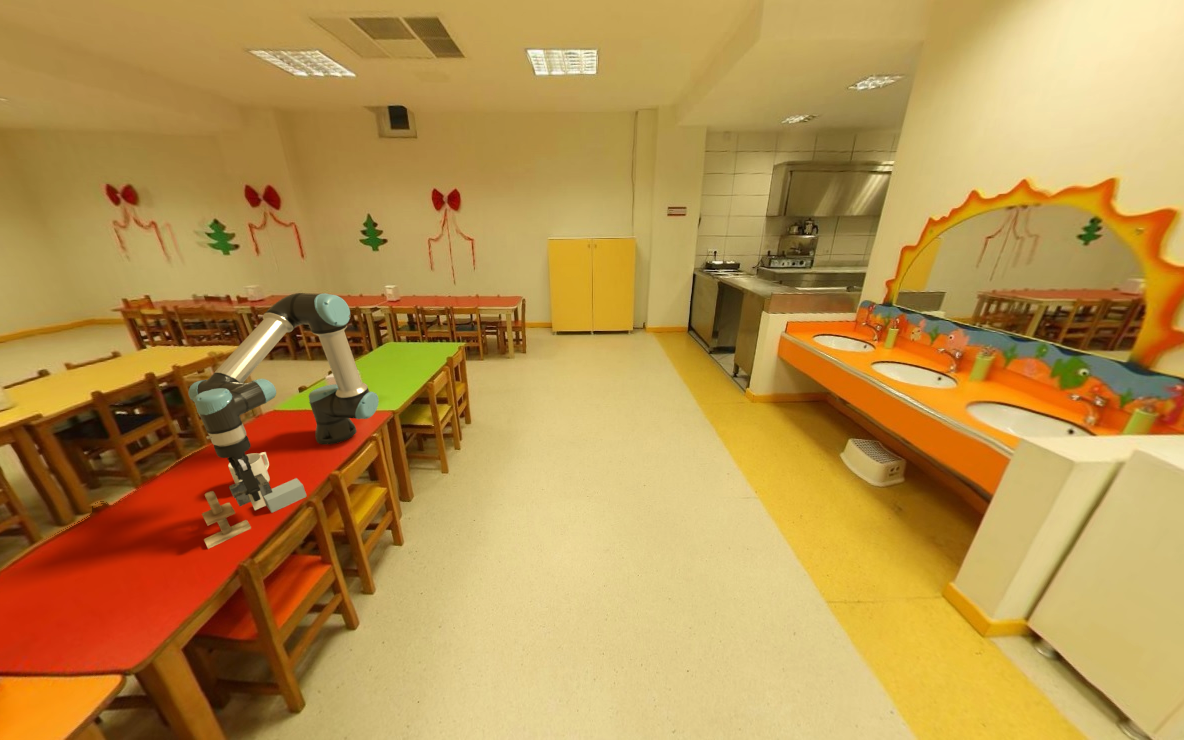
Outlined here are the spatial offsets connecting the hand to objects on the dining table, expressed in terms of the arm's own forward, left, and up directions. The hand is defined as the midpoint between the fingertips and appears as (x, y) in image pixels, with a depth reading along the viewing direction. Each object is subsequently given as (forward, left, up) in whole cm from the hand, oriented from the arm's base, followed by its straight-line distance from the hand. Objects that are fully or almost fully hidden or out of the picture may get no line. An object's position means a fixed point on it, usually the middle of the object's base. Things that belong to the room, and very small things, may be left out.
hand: (255, 501), depth 119 cm
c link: (0, 0, +3) cm, 3 cm away
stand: (+8, 0, -7) cm, 11 cm away
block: (-7, -4, -7) cm, 11 cm away
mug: (-4, -23, -7) cm, 25 cm away
